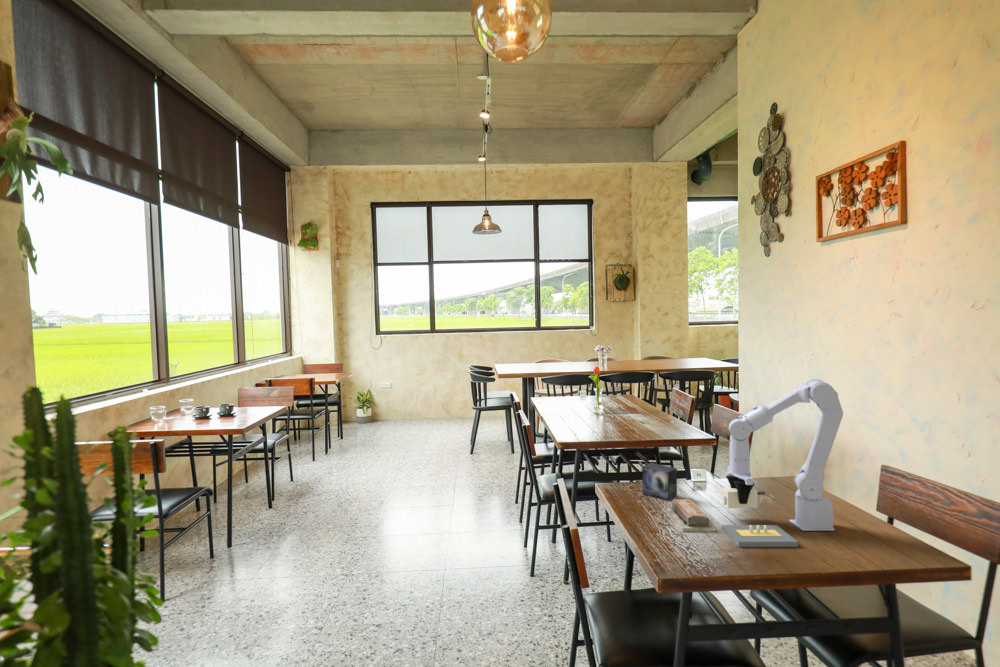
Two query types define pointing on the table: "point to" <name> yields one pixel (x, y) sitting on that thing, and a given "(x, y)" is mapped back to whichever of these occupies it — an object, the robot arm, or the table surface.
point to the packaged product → (689, 516)
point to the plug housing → (732, 500)
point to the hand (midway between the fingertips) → (740, 501)
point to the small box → (660, 481)
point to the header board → (759, 536)
